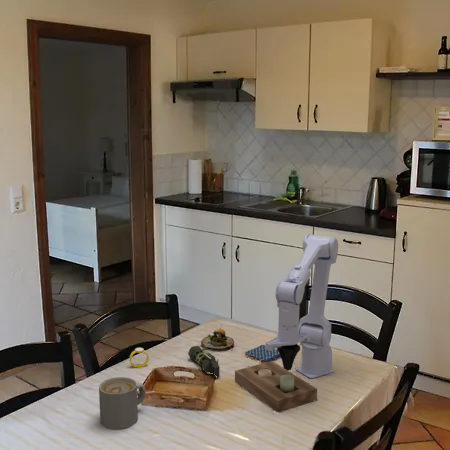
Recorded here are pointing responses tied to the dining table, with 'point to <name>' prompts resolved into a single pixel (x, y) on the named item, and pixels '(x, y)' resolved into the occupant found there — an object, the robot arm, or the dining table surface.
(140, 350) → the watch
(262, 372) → the maple peg
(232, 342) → the burger
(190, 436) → the dining table surface
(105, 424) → the coffee mug
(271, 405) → the walnut block
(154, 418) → the dining table surface
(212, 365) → the dark green rolled bundle
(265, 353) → the woven mat
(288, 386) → the sage peg
